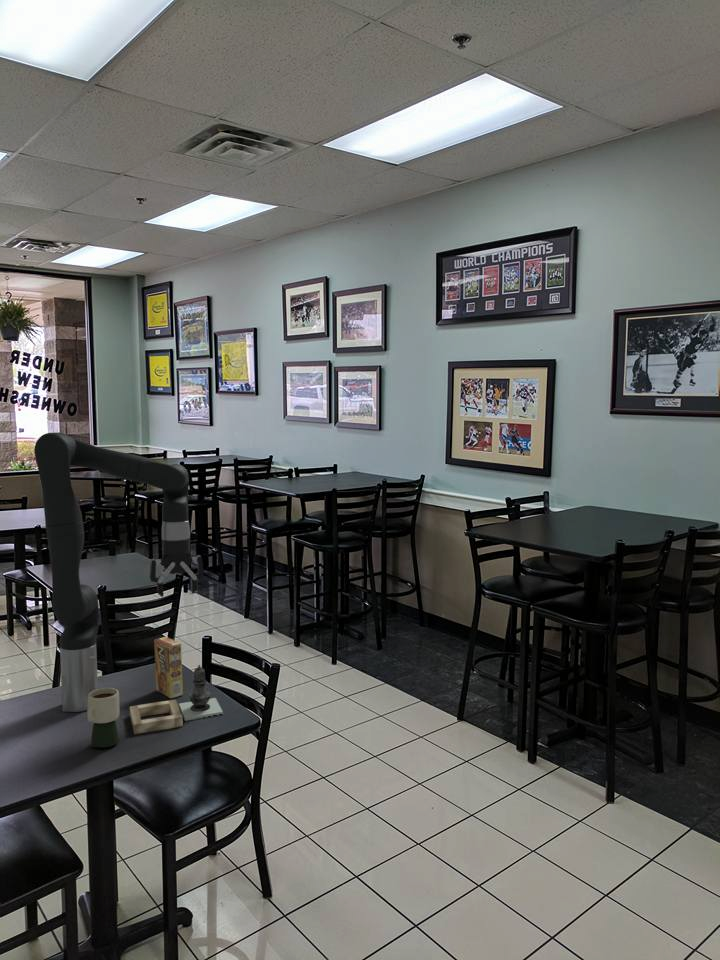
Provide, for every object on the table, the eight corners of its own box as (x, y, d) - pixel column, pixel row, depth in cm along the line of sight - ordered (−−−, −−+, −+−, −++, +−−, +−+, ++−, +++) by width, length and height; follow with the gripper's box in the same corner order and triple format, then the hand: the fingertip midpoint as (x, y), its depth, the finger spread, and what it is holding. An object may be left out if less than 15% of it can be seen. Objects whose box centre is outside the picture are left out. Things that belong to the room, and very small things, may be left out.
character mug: (108, 732, 178) (106, 683, 177) (131, 737, 176) (130, 686, 175) (77, 752, 168) (75, 699, 167) (102, 757, 166) (100, 703, 164)
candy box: (183, 695, 202) (182, 643, 201) (170, 699, 199) (168, 646, 198) (168, 686, 208) (166, 636, 207) (154, 690, 205) (153, 639, 204)
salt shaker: (205, 713, 188) (204, 669, 187) (185, 711, 189) (184, 667, 188) (214, 704, 194) (213, 661, 193) (194, 702, 195) (193, 660, 194)
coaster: (184, 720, 185) (184, 717, 185) (179, 706, 194) (179, 703, 194) (222, 714, 189) (222, 711, 189) (215, 700, 198) (215, 697, 198)
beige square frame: (134, 734, 177) (133, 724, 177) (129, 715, 188) (129, 706, 188) (182, 726, 182) (182, 716, 182) (175, 708, 193) (175, 699, 193)
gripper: (199, 533, 201) (200, 588, 203) (147, 536, 196) (149, 593, 197) (204, 537, 194) (205, 595, 196) (150, 540, 189) (152, 600, 190)
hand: (177, 594), depth 196 cm, fingers open, 8 cm apart
